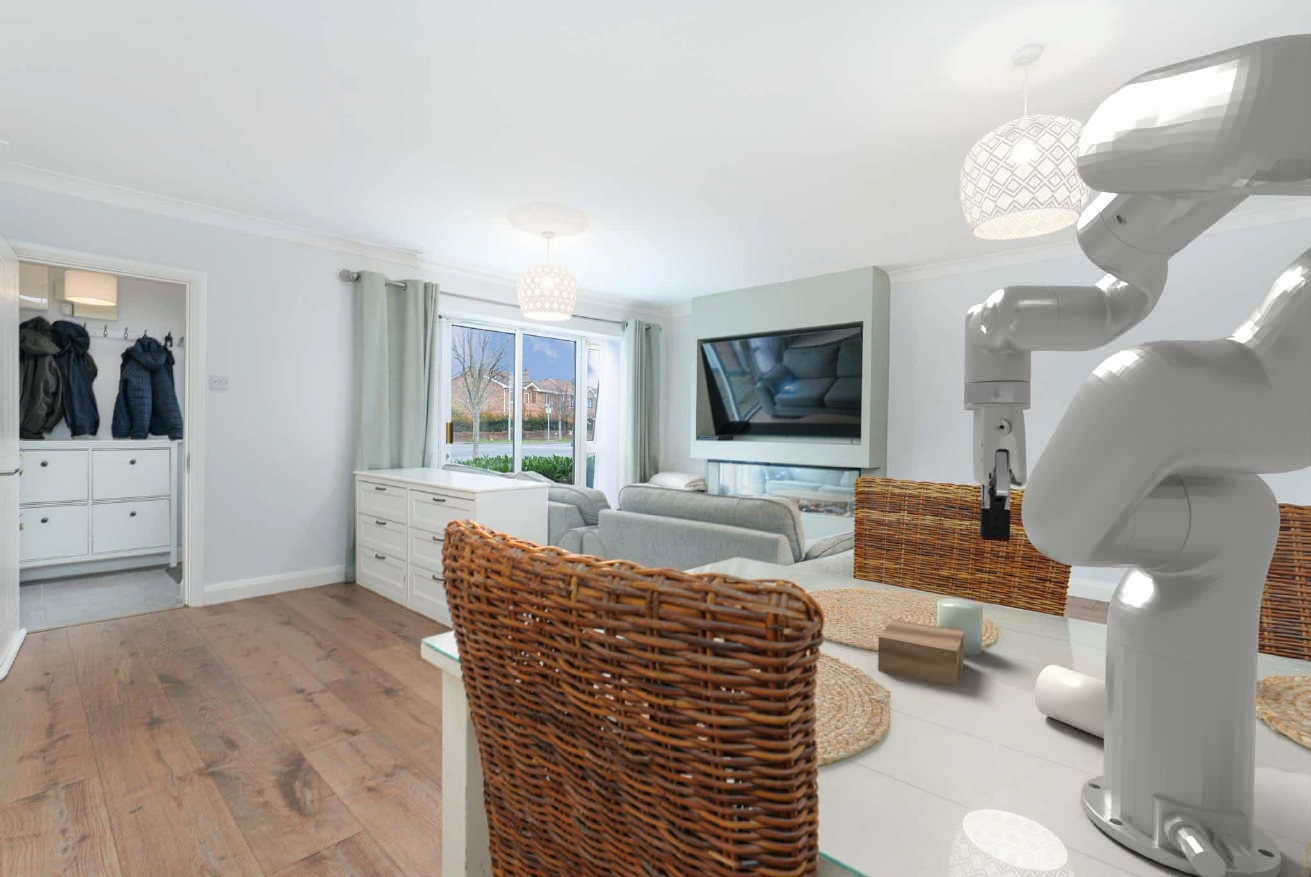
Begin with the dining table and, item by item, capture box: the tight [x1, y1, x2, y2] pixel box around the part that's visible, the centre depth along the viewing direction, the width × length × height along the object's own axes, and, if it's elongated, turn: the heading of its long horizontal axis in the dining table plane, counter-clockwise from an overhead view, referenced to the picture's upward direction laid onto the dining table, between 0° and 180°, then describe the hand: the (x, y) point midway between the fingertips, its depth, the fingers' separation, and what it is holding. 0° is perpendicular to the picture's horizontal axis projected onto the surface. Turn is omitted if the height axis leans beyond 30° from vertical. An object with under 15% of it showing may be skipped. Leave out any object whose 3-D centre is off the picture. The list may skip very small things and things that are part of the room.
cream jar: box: [1034, 664, 1105, 740], centre depth 68 cm, size 6×6×9 cm
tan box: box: [877, 618, 965, 687], centre depth 87 cm, size 10×10×5 cm
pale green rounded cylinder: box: [936, 598, 984, 657], centre depth 95 cm, size 6×6×7 cm
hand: (994, 539), depth 78 cm, fingers closed
